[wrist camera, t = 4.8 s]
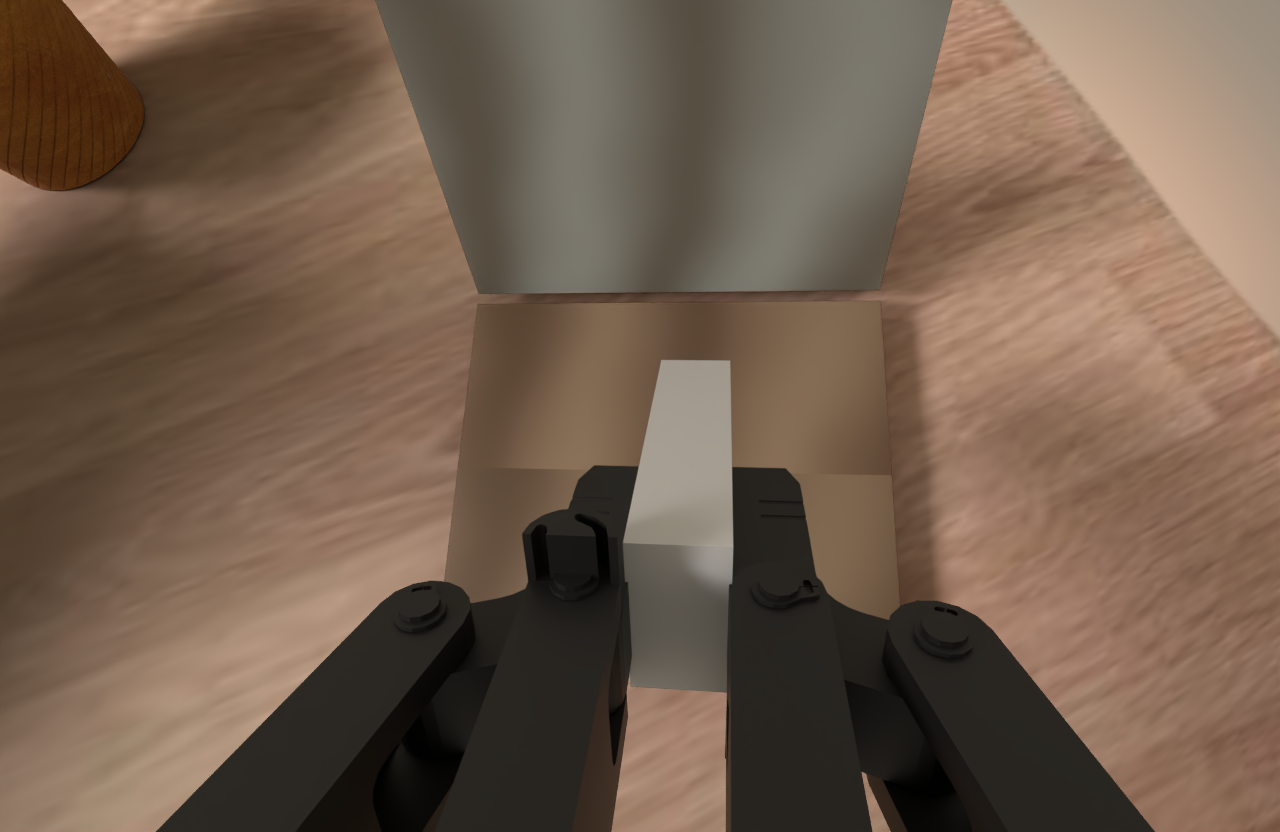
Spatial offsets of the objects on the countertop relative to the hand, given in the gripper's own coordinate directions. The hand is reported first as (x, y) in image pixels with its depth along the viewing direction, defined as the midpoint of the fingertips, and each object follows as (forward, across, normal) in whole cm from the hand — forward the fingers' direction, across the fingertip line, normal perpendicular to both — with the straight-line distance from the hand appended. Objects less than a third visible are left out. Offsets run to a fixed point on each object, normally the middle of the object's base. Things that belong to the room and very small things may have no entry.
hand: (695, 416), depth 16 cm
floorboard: (+6, -1, -6) cm, 9 cm away
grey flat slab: (+9, -1, +5) cm, 10 cm away
